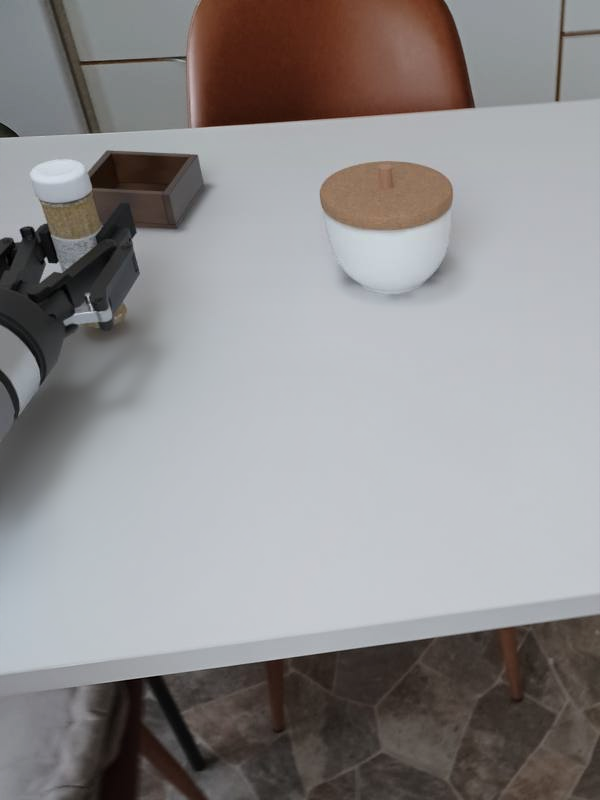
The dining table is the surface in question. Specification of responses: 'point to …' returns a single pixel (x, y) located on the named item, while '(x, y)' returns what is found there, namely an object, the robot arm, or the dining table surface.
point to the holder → (147, 186)
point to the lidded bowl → (388, 223)
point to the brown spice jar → (69, 212)
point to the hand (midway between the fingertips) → (102, 216)
